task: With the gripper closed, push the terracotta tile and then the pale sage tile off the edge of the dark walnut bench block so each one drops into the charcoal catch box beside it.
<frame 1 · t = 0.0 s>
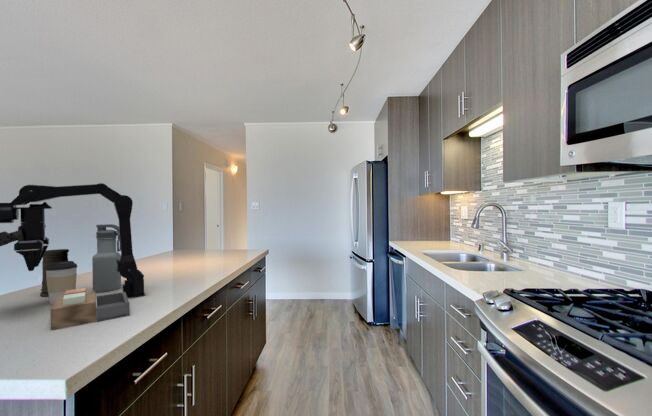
hand: (33, 268, 98), 15 cm above the table, fingers open, 9 cm apart
bench block: (75, 318, 91), on the table
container: (55, 294, 119), on the table
terracotta tile: (76, 296, 94), point 6 cm above the table, touching bench block
catch box: (112, 311, 97), on the table
sage tile: (74, 301, 89), point 6 cm above the table, touching bench block
coffee cup: (62, 301, 109), on the table
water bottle: (107, 289, 125), on the table
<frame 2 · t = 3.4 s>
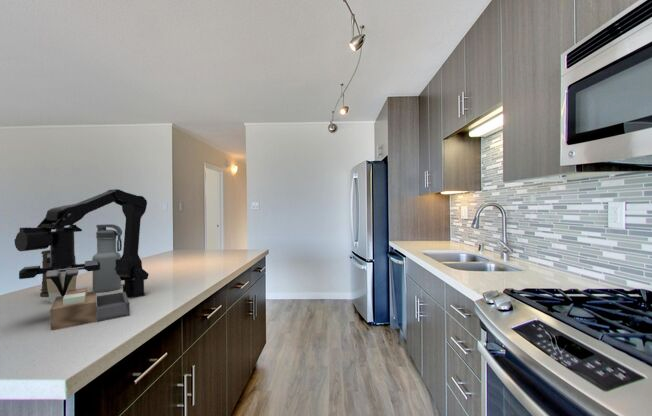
hand: (63, 295, 92), 7 cm above the table, fingers closed
terracotta tile: (77, 296, 94), point 6 cm above the table, touching bench block, gripper
everything else where it was.
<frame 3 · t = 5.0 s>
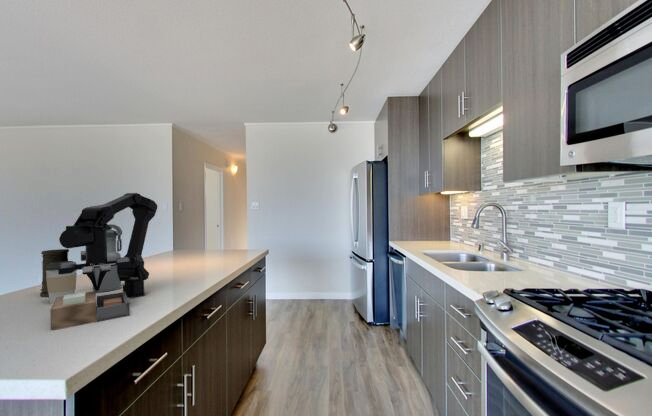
hand: (97, 290, 98), 7 cm above the table, fingers closed
terracotta tile: (112, 300, 100), point 3 cm above the table, tilted 180°, touching catch box
everything else where it was.
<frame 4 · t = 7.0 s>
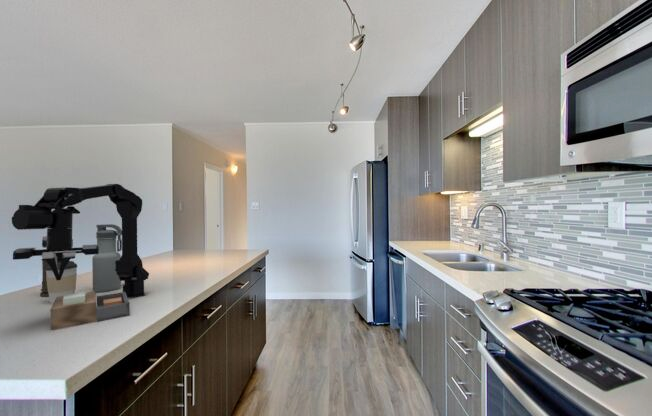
hand: (58, 280, 88), 13 cm above the table, fingers closed
nothing on the table moved.
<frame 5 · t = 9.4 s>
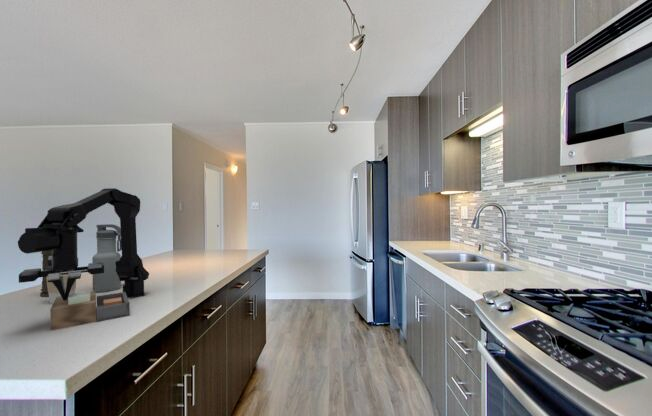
hand: (65, 300, 87), 7 cm above the table, fingers closed
sage tile: (79, 301, 89), point 6 cm above the table, touching gripper
everything else where it was.
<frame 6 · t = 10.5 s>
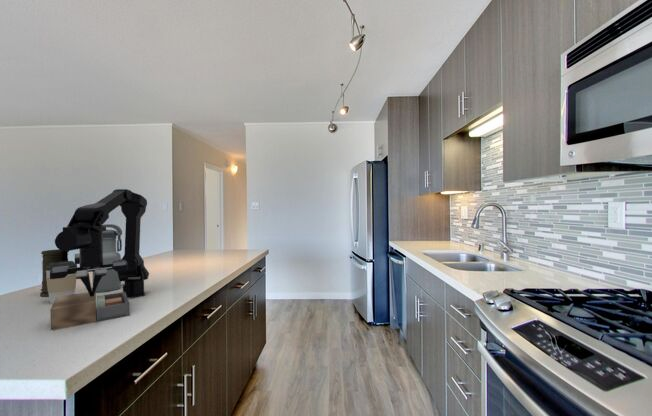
hand: (92, 296, 91), 7 cm above the table, fingers closed
sage tile: (96, 306, 92), point 3 cm above the table, tilted 90°, touching catch box
everything else where it was.
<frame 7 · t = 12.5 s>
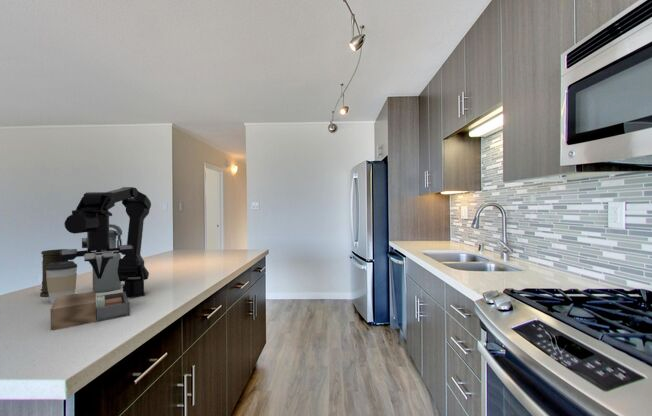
hand: (99, 278, 94), 12 cm above the table, fingers closed
nothing on the table moved.
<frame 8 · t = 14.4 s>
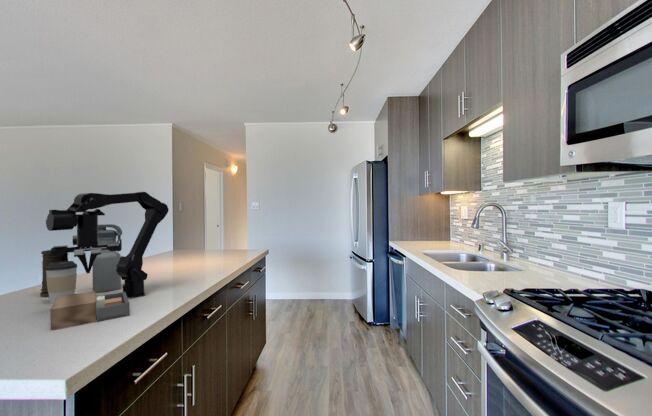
hand: (88, 273, 102), 12 cm above the table, fingers closed
nothing on the table moved.
at the end: terracotta tile inside the target area (3.8 cm from its centre), point 2.8 cm above the table; sage tile inside the target area (5.0 cm from its centre), point 3.3 cm above the table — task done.
